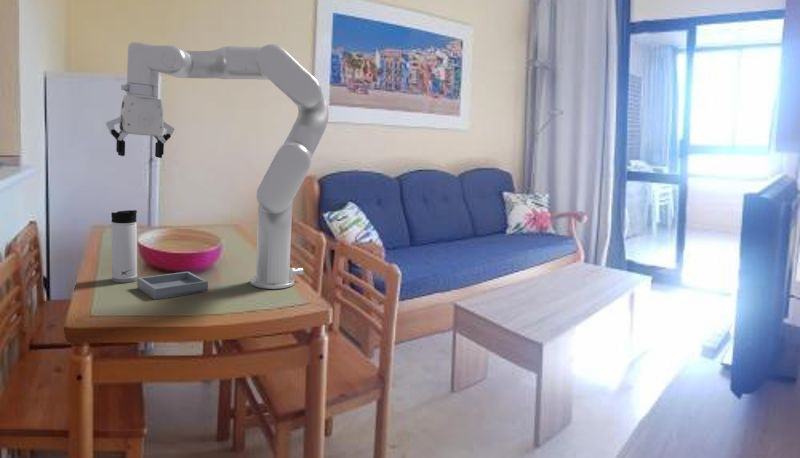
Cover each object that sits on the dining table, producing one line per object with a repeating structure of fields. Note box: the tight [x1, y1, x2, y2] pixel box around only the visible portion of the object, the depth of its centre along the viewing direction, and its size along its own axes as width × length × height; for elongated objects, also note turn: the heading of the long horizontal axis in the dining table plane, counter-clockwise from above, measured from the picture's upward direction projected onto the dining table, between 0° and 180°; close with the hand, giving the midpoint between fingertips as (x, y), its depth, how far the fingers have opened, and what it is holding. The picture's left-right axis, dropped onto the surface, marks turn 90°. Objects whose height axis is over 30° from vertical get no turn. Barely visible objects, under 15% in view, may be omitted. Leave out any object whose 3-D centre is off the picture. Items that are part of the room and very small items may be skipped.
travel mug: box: [110, 209, 138, 284], centre depth 155 cm, size 6×7×20 cm
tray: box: [136, 271, 209, 300], centre depth 151 cm, size 14×12×3 cm
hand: (140, 156), depth 152 cm, fingers open, 9 cm apart
